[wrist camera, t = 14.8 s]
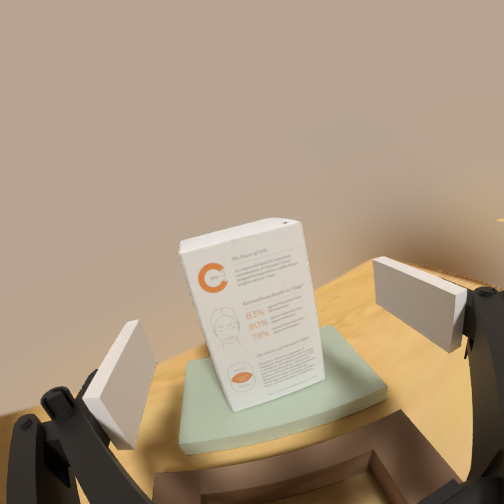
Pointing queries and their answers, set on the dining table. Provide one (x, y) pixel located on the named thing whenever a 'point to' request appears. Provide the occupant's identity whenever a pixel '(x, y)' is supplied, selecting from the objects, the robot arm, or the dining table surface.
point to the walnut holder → (320, 469)
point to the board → (276, 402)
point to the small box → (256, 309)
